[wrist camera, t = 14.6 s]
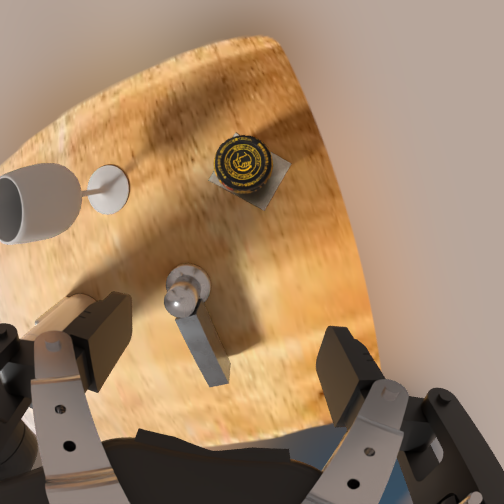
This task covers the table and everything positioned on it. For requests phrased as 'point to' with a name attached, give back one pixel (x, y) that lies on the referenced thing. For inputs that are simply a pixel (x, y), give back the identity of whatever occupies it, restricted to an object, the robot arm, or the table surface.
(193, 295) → the swing arm
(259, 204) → the condiment
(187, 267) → the swing arm mount
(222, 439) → the table surface
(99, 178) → the wineglass
